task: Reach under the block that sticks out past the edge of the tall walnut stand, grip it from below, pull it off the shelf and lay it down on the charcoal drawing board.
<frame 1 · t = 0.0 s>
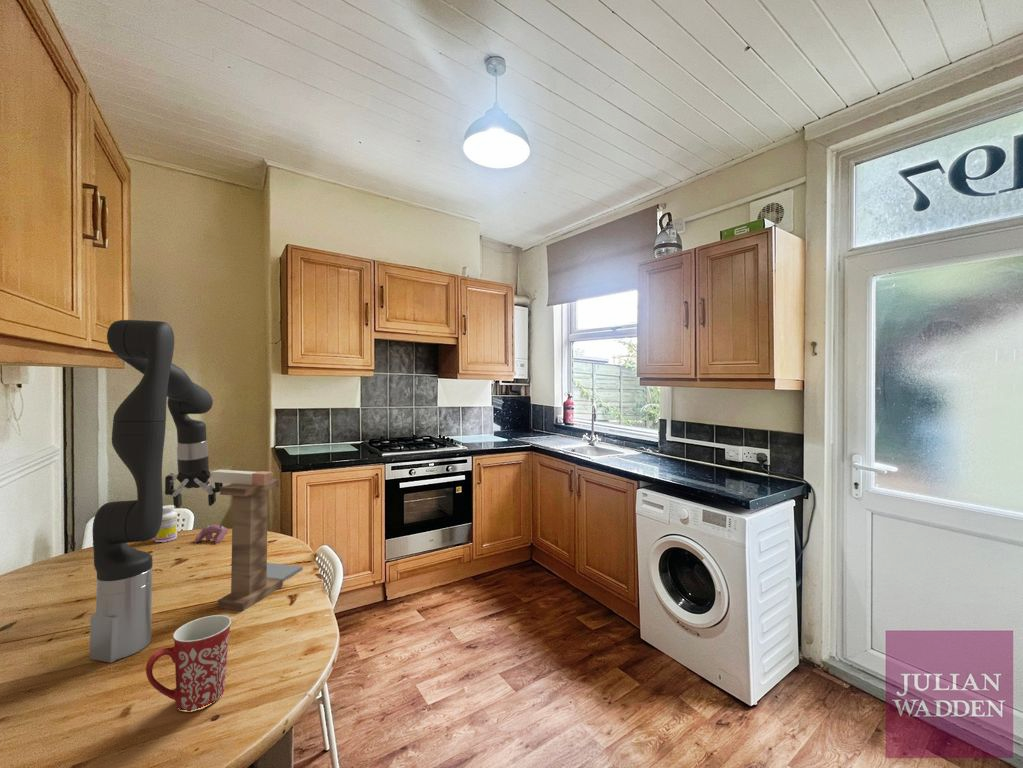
hand: (195, 505, 128), 22 cm above the table, tool pointing down, fingers open, 8 cm apart
stand: (249, 595, 117), on the table
supplement bottle: (165, 540, 159), on the table
mug: (189, 704, 77), on the table
video game controller: (211, 541, 158), on the table
block: (241, 482, 118), point 32 cm above the table, touching stand
drawing board: (270, 573, 131), on the table
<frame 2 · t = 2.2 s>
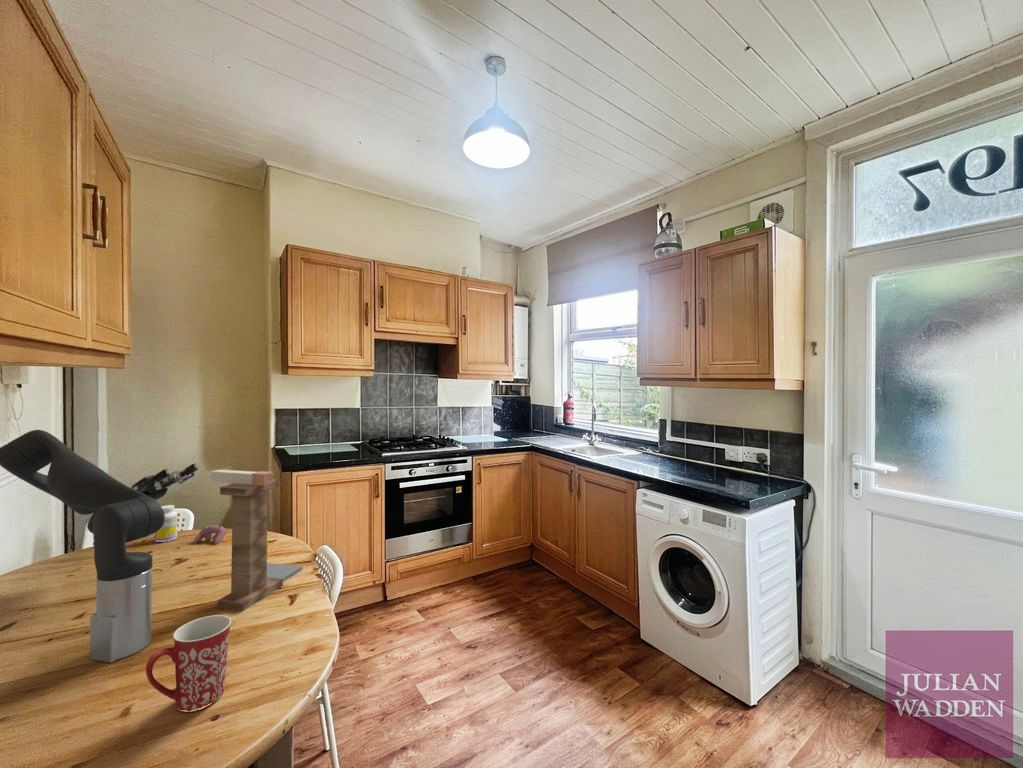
hand: (182, 469, 122), 35 cm above the table, tool pointing upward, fingers open, 8 cm apart
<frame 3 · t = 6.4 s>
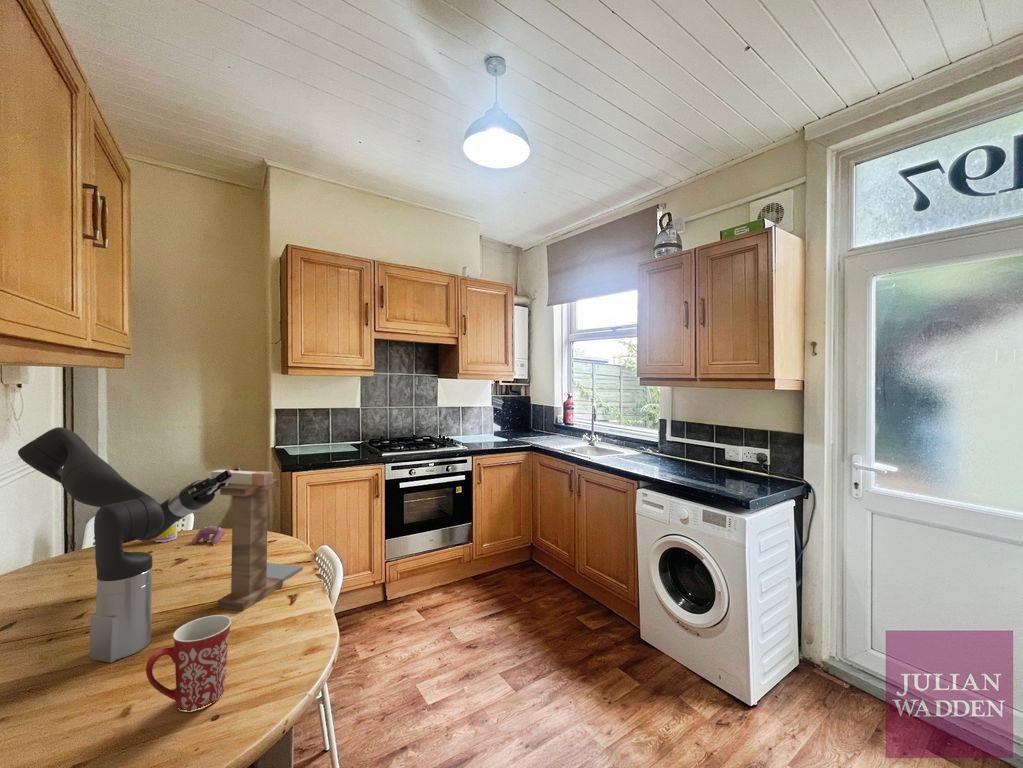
hand: (234, 471, 118), 35 cm above the table, tool pointing upward, fingers closed on block, 3 cm apart
block: (241, 482, 118), point 32 cm above the table, touching gripper, stand
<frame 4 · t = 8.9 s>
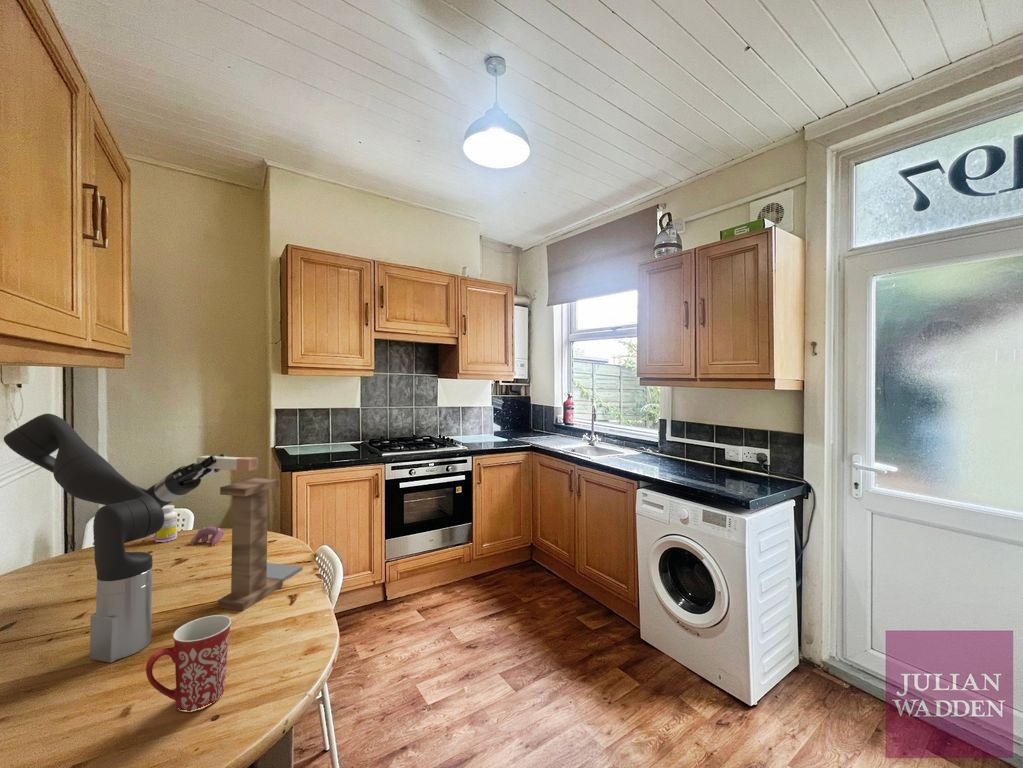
hand: (219, 457, 120), 39 cm above the table, tool pointing upward, fingers closed on block, 3 cm apart
block: (226, 468, 119), point 36 cm above the table, touching gripper
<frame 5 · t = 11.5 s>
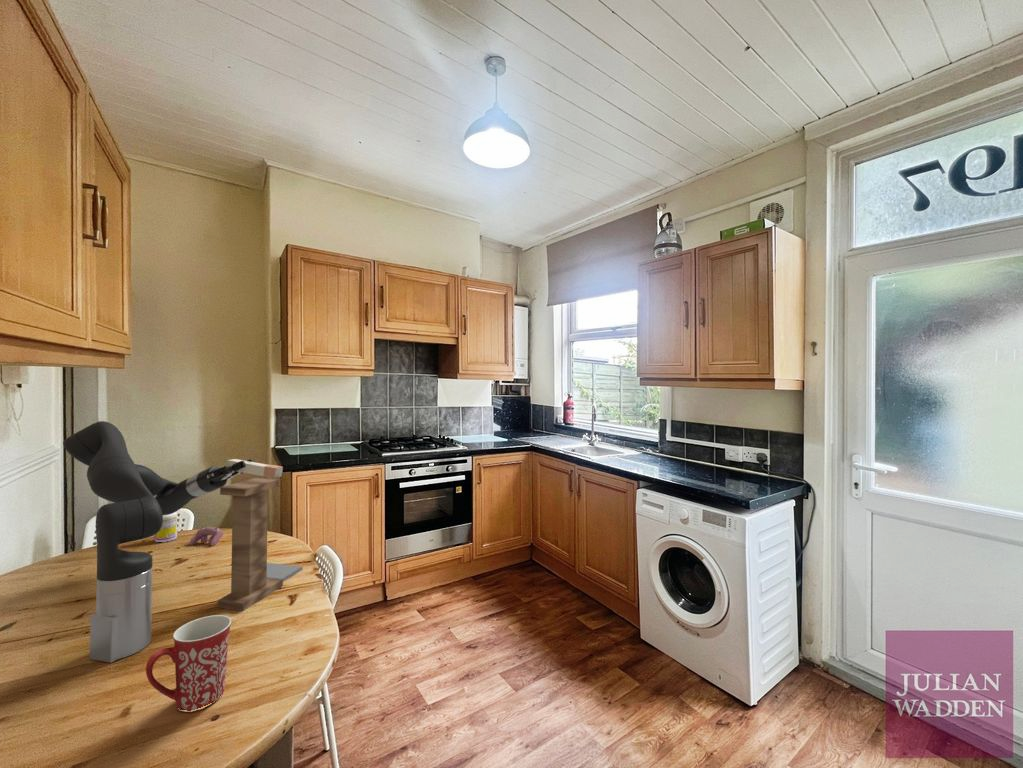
hand: (248, 462, 134), 35 cm above the table, tool pointing upward, fingers closed on block, 3 cm apart
block: (253, 472, 134), point 31 cm above the table, tilted 6°, touching gripper
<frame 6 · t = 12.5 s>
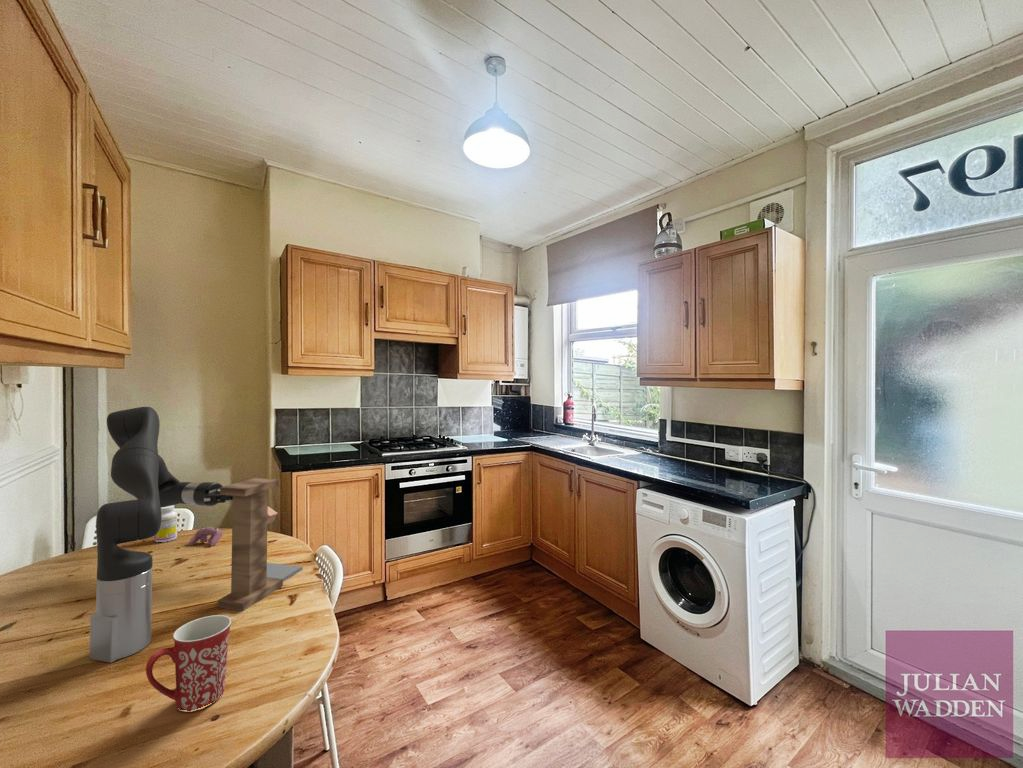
hand: (247, 495, 133), 24 cm above the table, tool horizontal, fingers closed on block, 3 cm apart
block: (248, 507, 133), point 20 cm above the table, tilted 29°, touching gripper
when the fingers open (8 cm above the table, at t = 16.2 s): block drops 4 cm, resting on drawing board.
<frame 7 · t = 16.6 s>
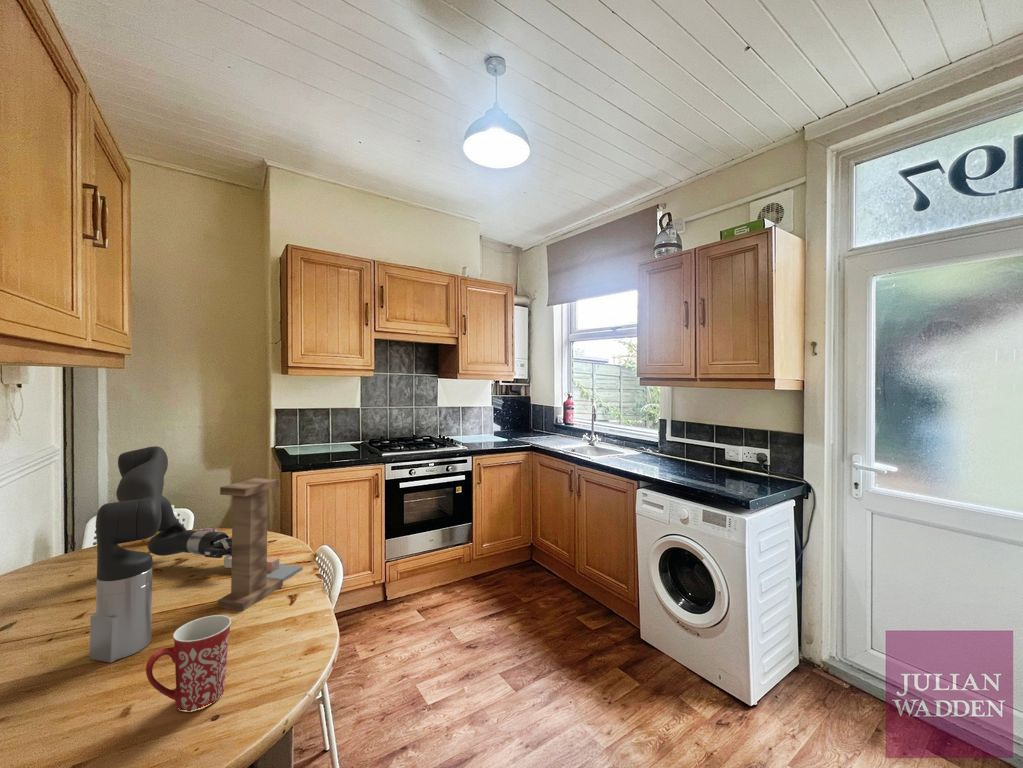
hand: (250, 547, 133), 8 cm above the table, tool horizontal, fingers open, 7 cm apart
block: (251, 567, 133), point 1 cm above the table, touching drawing board
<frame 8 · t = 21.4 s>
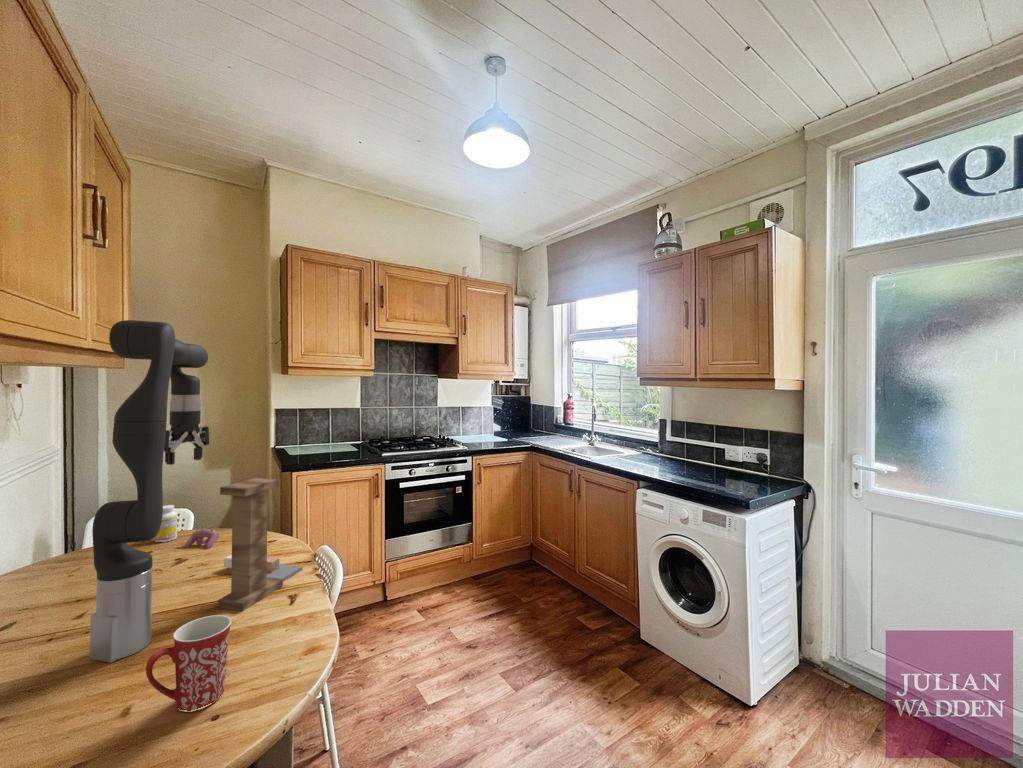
hand: (184, 462, 127), 36 cm above the table, tool pointing down, fingers open, 8 cm apart
at the end: block inside the target area (6.8 cm from its centre), point 1.0 cm above the table; block touching drawing board; the gripper is holding nothing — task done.
